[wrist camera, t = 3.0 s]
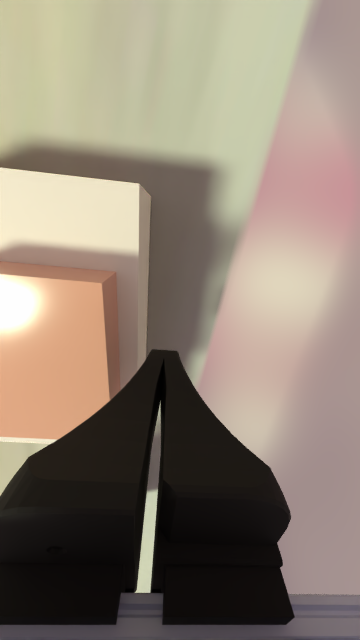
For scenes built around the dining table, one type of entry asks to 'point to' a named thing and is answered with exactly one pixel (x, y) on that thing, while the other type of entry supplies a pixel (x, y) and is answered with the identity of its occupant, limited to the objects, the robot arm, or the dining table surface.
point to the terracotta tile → (55, 347)
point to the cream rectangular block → (83, 242)
